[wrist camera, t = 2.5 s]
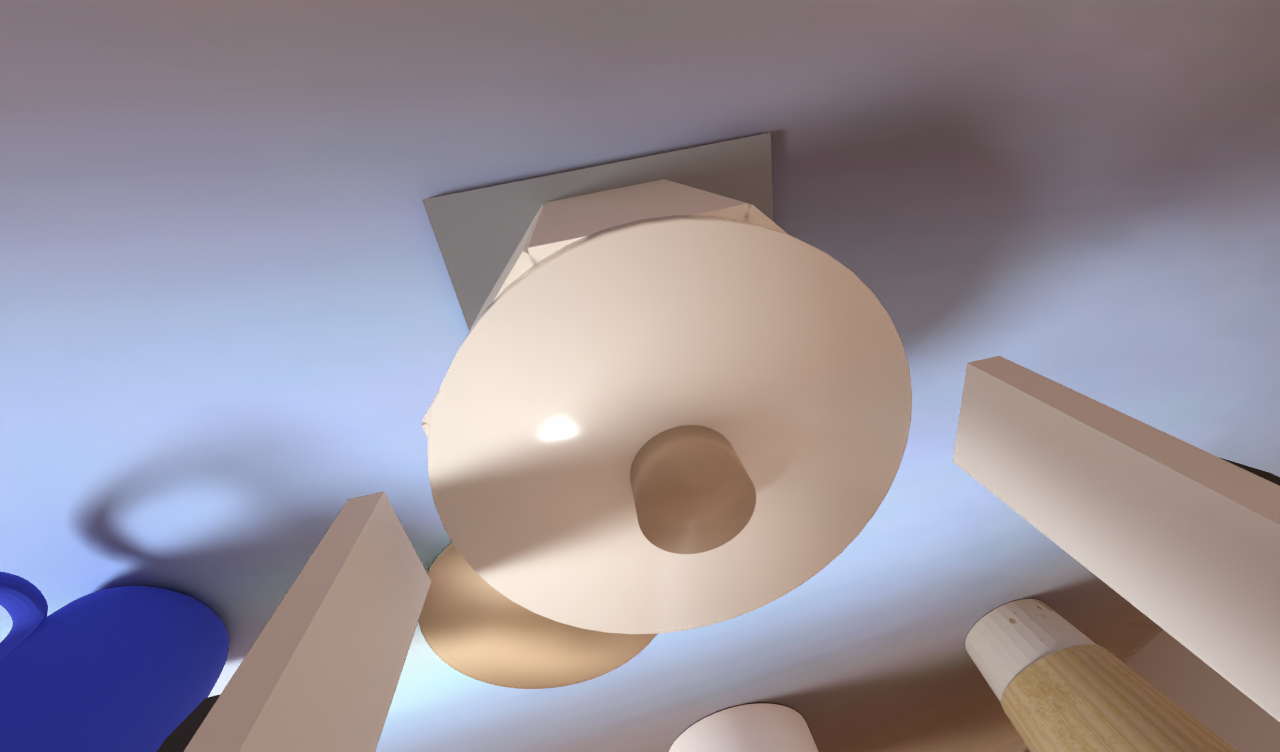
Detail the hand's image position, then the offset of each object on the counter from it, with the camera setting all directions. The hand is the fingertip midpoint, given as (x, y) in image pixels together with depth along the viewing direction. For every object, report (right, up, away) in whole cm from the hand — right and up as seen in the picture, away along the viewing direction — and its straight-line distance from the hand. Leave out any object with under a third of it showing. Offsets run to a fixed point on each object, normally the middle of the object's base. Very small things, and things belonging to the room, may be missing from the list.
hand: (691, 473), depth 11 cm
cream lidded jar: (-2, +4, +8) cm, 9 cm away
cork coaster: (-6, -10, +15) cm, 19 cm away
